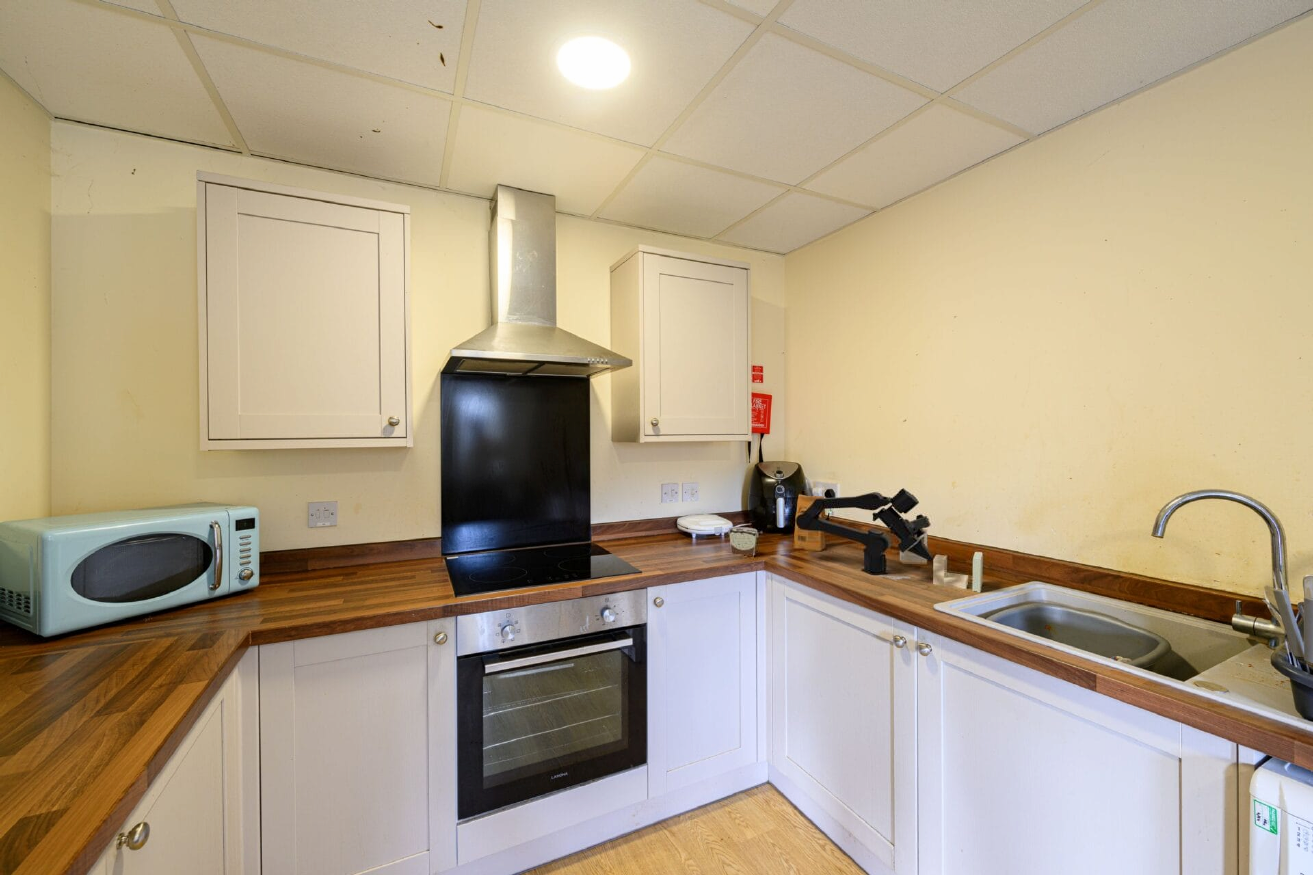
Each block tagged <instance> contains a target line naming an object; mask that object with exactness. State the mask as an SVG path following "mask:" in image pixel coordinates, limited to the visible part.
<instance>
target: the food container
mask: <svg viewBox="0 0 1313 875" xmlns="http://www.w3.org/2000/svg"><path fill="white" fill-rule="evenodd" d="M727 534H728V535H729V545H730V554H731V553H732V554H731V555H733V554H743V555H753V556H754V555H755V556H756V549H757V548H756V547H757V539H758V538H759V532H758V530H757V529H756V528H752V527H741V526H740V527H739V526H738V527H729V529H728V532H727Z"/></svg>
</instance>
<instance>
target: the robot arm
mask: <svg viewBox="0 0 1313 875" xmlns="http://www.w3.org/2000/svg"><path fill="white" fill-rule="evenodd" d="M918 504H920V501H919V500H918V499H917V498H916V496H915V495H914V494H912V493H910V492H909V491H907V490H906V489H905V488H902V487H901V489H900V490H899V491H898V492H897V494H895V495H893V497H890V496H883V495H882V494H881V493H880V492H879V491H872V492H868V493H864V494H860V495H856V496H841V497H838V496H837V497H824V498H818V499H816V500H815V501H814V502H813V504H812V505H811V506H810V507H809V508H808V509H807V510H806V511H805V512H804V513H803V514H800V515H799V516H798V517H797V518H796V517H795V522H796V524H797V526H798V528H800V529H802V530H810V531H823V532H824V533H827V534H830V535H833V536H835V537H839V538H842V539H843V538H844V539H846V540H850V541H853V542H856V543H860V544H862V545H863V546H865V547H864V548H863V549H862V550H863V568H861V569H860V571H862V572H866V573H867V574H870V575H875V576H877V575H887V574H889V571H887V558H886V554H884V553H885V552H886V551H887V550H888V549H890V547H891V546H892V542H893V540H892V537H891V536H890V535H889V534H888V533H886V532H885V530H879V529H876V528H874V527H871V528H870V529H868V530H866V531H865V530H862V529H857V528H854V527H851V526H847V525H843V524H840V523H837V522H833V521H830V520H826V519H825V520H824V519H823V518H821V517H820V516H819V515H820V514H821V512H822V511H823V509H825V510H829V509H848V508H850V509H852V508H854V509H860V510H865V511H866V510H867V511H877V510H878V509H879V511H878V512H872V521H873V522H875V521H877V520H878V519H879V521H881V522H882V523H883V524H884V525H885V526H886V527H887V529H889V530H890V531H889V532H890V533H891V535H893V534H894V535H895V537H897V539H898V540H899V541H898V542H899V543H898V545H897V547H898V548H897V549H898V550H899V552H900V551H901V552H902V553H903V552H905V551H906V550H907V549H908V548H909V549H908V550H907V551H909V552H911V553H914V554H916V555H918V556H921V557H923V558H925V559H927V561H930V562H933V559H934V557H933V556H932V554H931V553H930V551H929V549H928V546H927V547H926V546H925V544H924V536H923V537H922V538H921V539H920V538H919V537H920V536H922V535H923V534H925V533H926V532H925V531H924V530H923V529H922V528H925V529H927V528H929V527H930V526H932V524H931V522H930V518H929V517H928V516H927V515H925V516H924V515H923V514H922V513H921V514H918V515H916V516H915V519H913V520H909V519H908V518H903V516H901V514H904V515H907V514H908V513H909V512H910V511H911V510H913V509H914V508H915V507H917V505H918ZM888 505H889V506H888ZM886 506H887V508H885V507H886Z"/></svg>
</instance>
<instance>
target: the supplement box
mask: <svg viewBox="0 0 1313 875" xmlns="http://www.w3.org/2000/svg"><path fill="white" fill-rule="evenodd" d="M922 529H923V530H924V531H925V532H926V533H925V534H923V535H922V536H920V537H919V538H920V539H921V538H922V537H923V536H924V544H925V546H926V547H927V548H928V529H927V528H922ZM908 549H909V548H908ZM908 549H907V550H908ZM907 550H906V551H905V552H903V553H902V552H901V551H900V550H899V562H900V563H902V564H903V565H922V566H923V565H925V566H927V565H928V560H927V559H925V558H923V557H921V556H918V555H916V554H914V553H911V552H909V551H907Z"/></svg>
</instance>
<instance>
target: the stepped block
mask: <svg viewBox="0 0 1313 875" xmlns="http://www.w3.org/2000/svg"><path fill="white" fill-rule="evenodd" d="M932 562H933V565H932V566H933V568H932V570H933V571H932V572H933V573H932V574H933V575H932V576H933V578H932V582H933V583H932V585H935V586H941V587H942V586H943V587H949V588H955V589H962V590H967V587H968V584H969V575H967V574H960V573H952V572H948V555H945V554H944V555H943V554H936V555H935V556H934V557H933V560H932Z"/></svg>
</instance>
